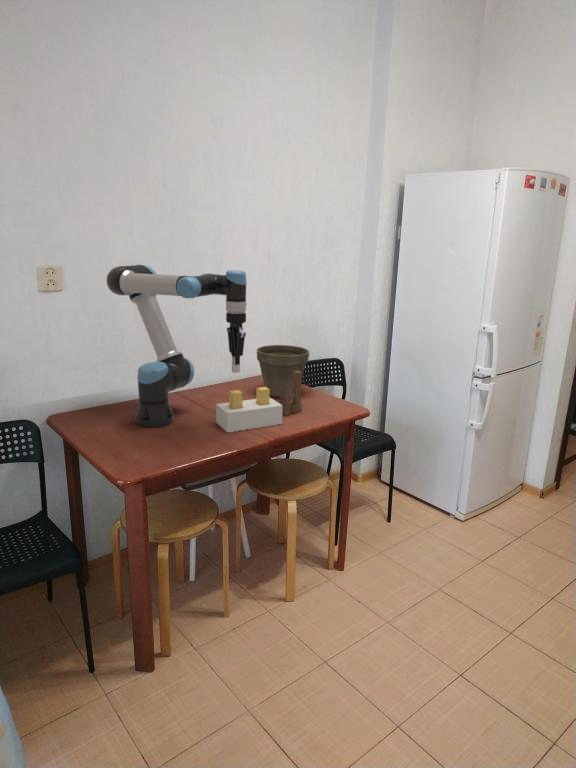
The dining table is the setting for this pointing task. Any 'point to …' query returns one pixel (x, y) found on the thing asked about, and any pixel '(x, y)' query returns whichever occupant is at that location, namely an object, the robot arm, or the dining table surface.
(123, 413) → the dining table surface
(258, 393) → the peg far
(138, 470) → the dining table surface
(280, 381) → the plant pot
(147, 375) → the robot arm
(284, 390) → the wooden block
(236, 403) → the peg near
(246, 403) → the socket block
